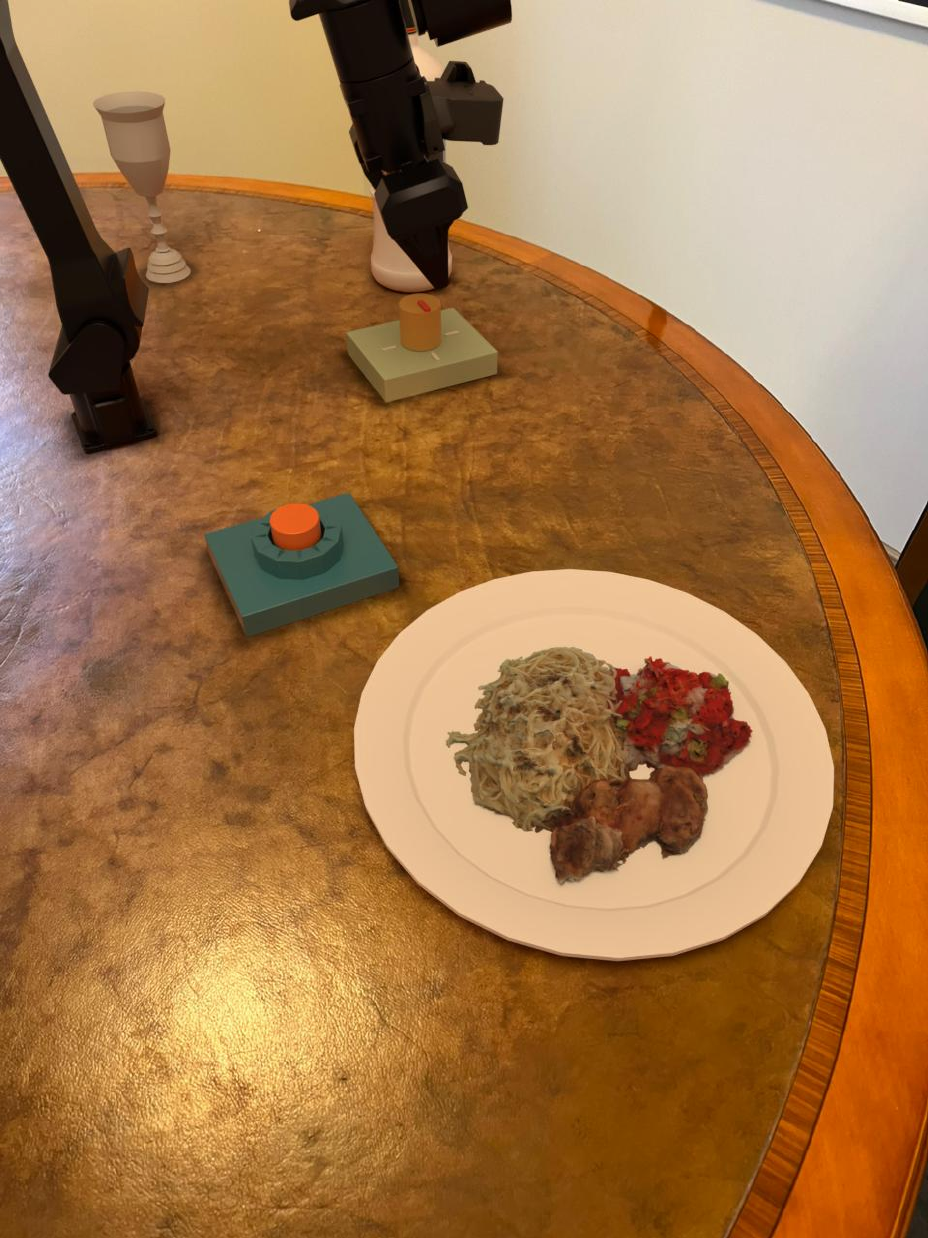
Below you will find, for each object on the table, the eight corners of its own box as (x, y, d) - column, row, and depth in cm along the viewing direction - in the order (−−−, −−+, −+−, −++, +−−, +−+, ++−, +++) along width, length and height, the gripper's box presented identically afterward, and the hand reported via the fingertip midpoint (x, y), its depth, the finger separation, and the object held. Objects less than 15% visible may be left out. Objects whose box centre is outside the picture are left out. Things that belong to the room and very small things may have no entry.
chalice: (124, 281, 106) (78, 108, 93) (155, 256, 110) (115, 88, 97) (182, 290, 104) (143, 115, 91) (210, 264, 109) (178, 95, 96)
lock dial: (394, 336, 92) (392, 295, 89) (430, 327, 94) (429, 286, 90) (410, 354, 90) (408, 313, 87) (447, 345, 91) (447, 304, 88)
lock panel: (347, 354, 95) (345, 330, 93) (453, 329, 99) (453, 305, 97) (385, 403, 88) (384, 378, 87) (497, 374, 92) (498, 349, 90)
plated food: (260, 746, 60) (252, 713, 58) (561, 534, 75) (565, 501, 73) (629, 1098, 45) (638, 1074, 43) (912, 747, 61) (931, 715, 58)
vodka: (435, 301, 103) (429, -23, 81) (358, 287, 105) (334, -32, 84) (463, 266, 109) (465, -44, 88) (391, 253, 111) (375, -51, 90)
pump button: (266, 528, 70) (263, 510, 69) (311, 515, 71) (309, 497, 70) (281, 557, 68) (278, 539, 66) (328, 543, 69) (326, 525, 68)
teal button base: (209, 555, 73) (199, 515, 70) (351, 513, 77) (347, 473, 74) (246, 638, 67) (237, 598, 64) (399, 588, 71) (397, 548, 68)
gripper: (512, 64, 61) (551, 280, 73) (453, 0, 74) (494, 192, 86) (353, 120, 62) (417, 327, 73) (321, 46, 75) (380, 232, 86)
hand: (431, 263), depth 79 cm, fingers open, 9 cm apart
